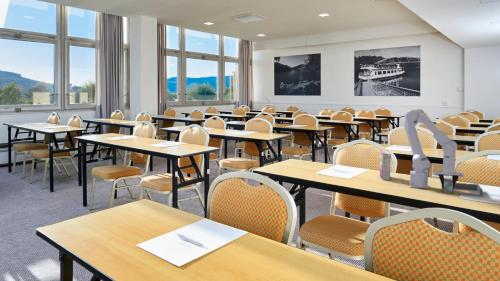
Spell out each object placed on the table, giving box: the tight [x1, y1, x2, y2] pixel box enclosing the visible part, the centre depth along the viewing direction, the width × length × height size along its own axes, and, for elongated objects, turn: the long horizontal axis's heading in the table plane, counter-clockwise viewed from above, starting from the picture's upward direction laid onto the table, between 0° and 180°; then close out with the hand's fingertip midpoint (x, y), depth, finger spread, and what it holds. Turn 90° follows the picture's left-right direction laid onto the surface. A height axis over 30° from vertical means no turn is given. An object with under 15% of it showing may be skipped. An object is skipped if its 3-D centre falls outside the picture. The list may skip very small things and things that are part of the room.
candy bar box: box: [379, 150, 392, 181], centre depth 232 cm, size 11×5×16 cm, turn 168°
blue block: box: [442, 178, 453, 194], centre depth 201 cm, size 4×7×6 cm, turn 158°
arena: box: [452, 182, 484, 197], centre depth 199 cm, size 13×12×3 cm
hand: (447, 188), depth 201 cm, fingers closed on blue block, 4 cm apart
